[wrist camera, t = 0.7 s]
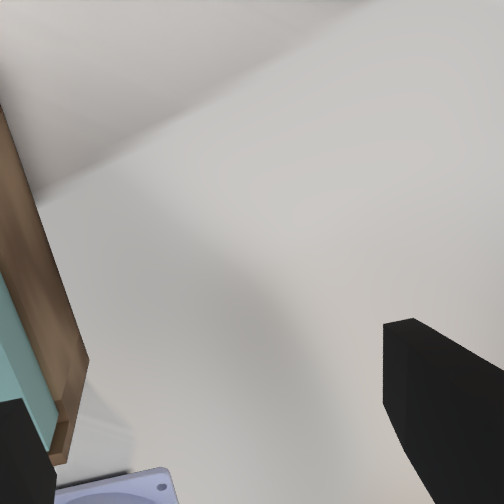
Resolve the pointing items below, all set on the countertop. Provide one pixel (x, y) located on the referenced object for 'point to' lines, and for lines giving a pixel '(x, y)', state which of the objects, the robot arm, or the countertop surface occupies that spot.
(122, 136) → the countertop surface
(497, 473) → the robot arm
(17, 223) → the walnut box
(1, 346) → the cover plate
